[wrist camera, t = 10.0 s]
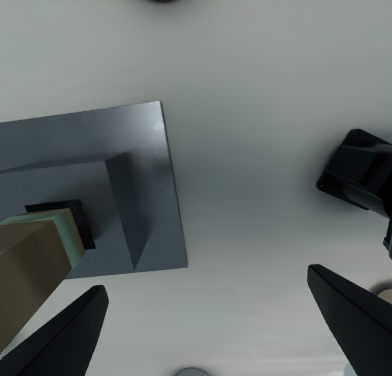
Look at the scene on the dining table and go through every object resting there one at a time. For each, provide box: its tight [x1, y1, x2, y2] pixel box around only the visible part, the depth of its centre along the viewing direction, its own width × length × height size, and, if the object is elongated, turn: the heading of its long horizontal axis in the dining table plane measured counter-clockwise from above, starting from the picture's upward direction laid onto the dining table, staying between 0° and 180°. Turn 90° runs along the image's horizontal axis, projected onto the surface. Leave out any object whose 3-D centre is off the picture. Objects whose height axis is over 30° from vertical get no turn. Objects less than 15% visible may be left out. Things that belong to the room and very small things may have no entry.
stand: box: [0, 101, 188, 279], centre depth 19 cm, size 18×18×6 cm
